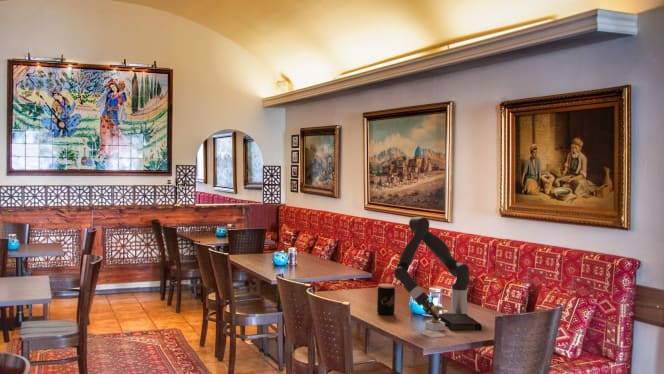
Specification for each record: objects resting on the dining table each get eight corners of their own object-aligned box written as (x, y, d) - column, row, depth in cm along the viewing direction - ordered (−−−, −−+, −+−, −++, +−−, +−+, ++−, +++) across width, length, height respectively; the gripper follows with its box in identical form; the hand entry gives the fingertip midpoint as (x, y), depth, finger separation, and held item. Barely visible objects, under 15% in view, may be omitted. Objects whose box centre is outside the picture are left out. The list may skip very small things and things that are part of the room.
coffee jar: (380, 316, 421) (381, 286, 420) (374, 312, 431) (375, 283, 430) (396, 315, 423) (397, 286, 423) (390, 311, 434) (391, 283, 433)
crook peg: (430, 329, 391) (431, 306, 391) (432, 327, 395) (433, 305, 394) (442, 330, 389) (443, 307, 388) (444, 329, 392) (444, 306, 392)
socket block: (437, 326, 398) (437, 319, 397) (444, 330, 390) (445, 323, 390) (425, 327, 394) (425, 320, 394) (432, 331, 387) (432, 324, 387)
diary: (466, 321, 416) (467, 313, 416) (481, 332, 391) (482, 323, 391) (436, 321, 413) (437, 313, 413) (450, 331, 388) (450, 323, 388)
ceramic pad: (436, 332, 384) (436, 331, 384) (445, 336, 376) (445, 335, 376) (422, 333, 381) (422, 332, 381) (431, 337, 372) (431, 336, 372)
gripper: (419, 293, 388) (440, 317, 384) (427, 289, 401) (446, 312, 397) (410, 301, 390) (430, 325, 386) (418, 297, 403) (437, 320, 399)
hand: (438, 318), depth 391 cm, fingers closed on crook peg, 3 cm apart
